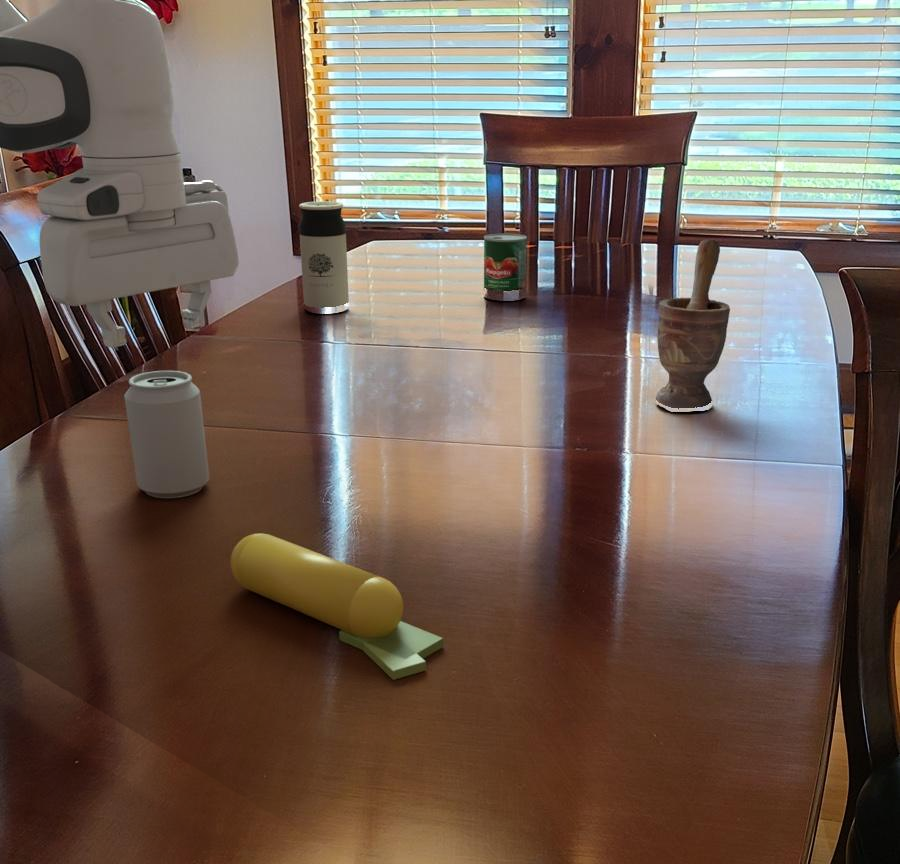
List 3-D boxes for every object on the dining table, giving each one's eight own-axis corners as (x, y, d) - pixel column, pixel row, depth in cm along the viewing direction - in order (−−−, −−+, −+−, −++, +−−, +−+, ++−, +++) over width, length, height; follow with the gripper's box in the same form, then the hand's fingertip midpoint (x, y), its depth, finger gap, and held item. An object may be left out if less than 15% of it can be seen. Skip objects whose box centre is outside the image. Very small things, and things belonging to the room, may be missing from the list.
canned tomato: (523, 293, 205) (524, 233, 201) (527, 301, 198) (529, 239, 194) (481, 293, 205) (482, 233, 200) (484, 302, 198) (485, 240, 193)
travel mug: (316, 304, 197) (310, 200, 189) (356, 307, 194) (352, 202, 186) (296, 313, 190) (289, 205, 182) (337, 316, 188) (332, 207, 180)
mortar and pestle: (644, 389, 147) (656, 236, 138) (708, 390, 146) (725, 236, 137) (655, 415, 136) (669, 251, 127) (724, 415, 136) (743, 251, 127)
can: (211, 474, 118) (199, 365, 112) (209, 498, 111) (196, 384, 106) (140, 478, 117) (125, 368, 111) (134, 503, 110) (118, 388, 105)
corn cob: (207, 596, 91) (201, 542, 89) (265, 571, 96) (260, 519, 93) (402, 684, 78) (401, 624, 76) (459, 650, 83) (459, 592, 80)
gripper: (203, 176, 109) (218, 314, 115) (19, 196, 95) (47, 351, 102) (244, 179, 106) (257, 322, 112) (59, 201, 92) (85, 362, 98)
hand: (156, 336), depth 107 cm, fingers open, 8 cm apart
